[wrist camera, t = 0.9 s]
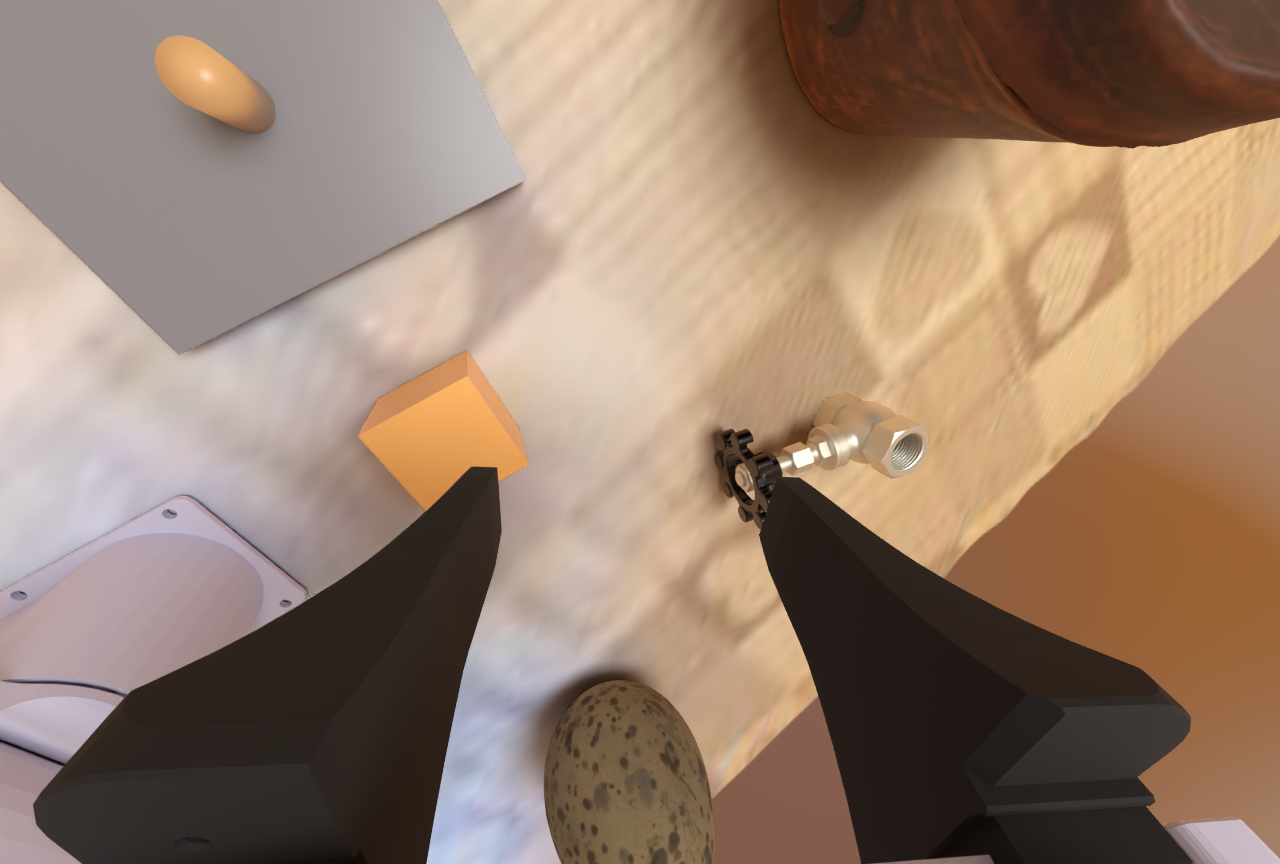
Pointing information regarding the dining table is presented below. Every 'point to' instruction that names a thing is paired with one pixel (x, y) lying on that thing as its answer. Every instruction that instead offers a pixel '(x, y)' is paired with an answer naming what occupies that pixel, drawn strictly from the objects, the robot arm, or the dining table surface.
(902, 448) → the valve
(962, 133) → the brown tapered pot
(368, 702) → the robot arm
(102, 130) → the plate
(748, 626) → the dining table surface
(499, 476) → the light orange cube
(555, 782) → the decorative egg
